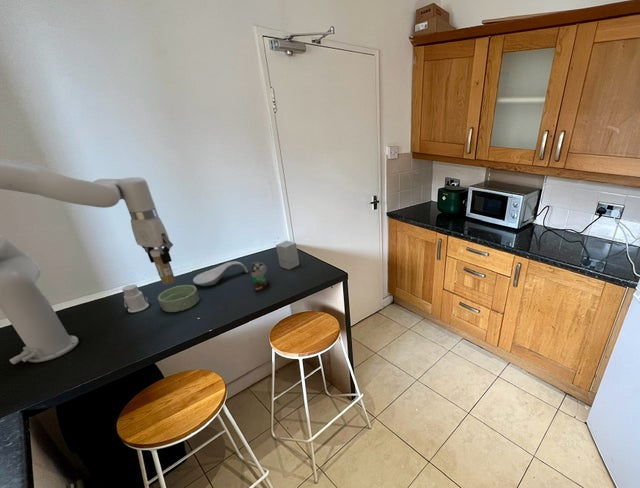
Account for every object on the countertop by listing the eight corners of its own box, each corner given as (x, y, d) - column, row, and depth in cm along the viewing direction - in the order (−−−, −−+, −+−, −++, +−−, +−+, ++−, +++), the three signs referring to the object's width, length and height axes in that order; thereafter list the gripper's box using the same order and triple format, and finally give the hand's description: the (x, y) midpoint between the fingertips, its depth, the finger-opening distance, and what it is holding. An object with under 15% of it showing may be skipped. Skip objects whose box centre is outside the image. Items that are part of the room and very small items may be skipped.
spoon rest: (199, 292, 142) (194, 278, 138) (191, 283, 149) (187, 270, 146) (251, 275, 157) (248, 262, 154) (242, 267, 164) (239, 255, 161)
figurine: (270, 290, 143) (266, 271, 139) (255, 292, 141) (251, 273, 137) (269, 278, 154) (265, 260, 149) (256, 280, 152) (251, 262, 147)
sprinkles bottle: (175, 282, 120) (164, 250, 114) (161, 285, 118) (149, 253, 112) (176, 278, 123) (165, 246, 117) (162, 281, 121) (150, 249, 115)
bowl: (182, 314, 126) (178, 303, 123) (153, 311, 128) (149, 299, 126) (207, 297, 138) (203, 286, 135) (180, 294, 140) (176, 283, 138)
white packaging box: (300, 264, 168) (296, 242, 162) (288, 270, 162) (284, 247, 156) (290, 261, 171) (287, 240, 166) (279, 266, 165) (275, 244, 160)
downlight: (153, 302, 134) (144, 281, 130) (146, 311, 128) (137, 290, 124) (130, 305, 132) (121, 284, 127) (123, 314, 126) (113, 293, 121)
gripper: (113, 216, 107) (133, 264, 115) (155, 219, 104) (172, 268, 112) (134, 210, 114) (151, 255, 122) (173, 213, 111) (188, 259, 119)
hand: (161, 261), depth 117 cm, fingers closed on sprinkles bottle, 4 cm apart
